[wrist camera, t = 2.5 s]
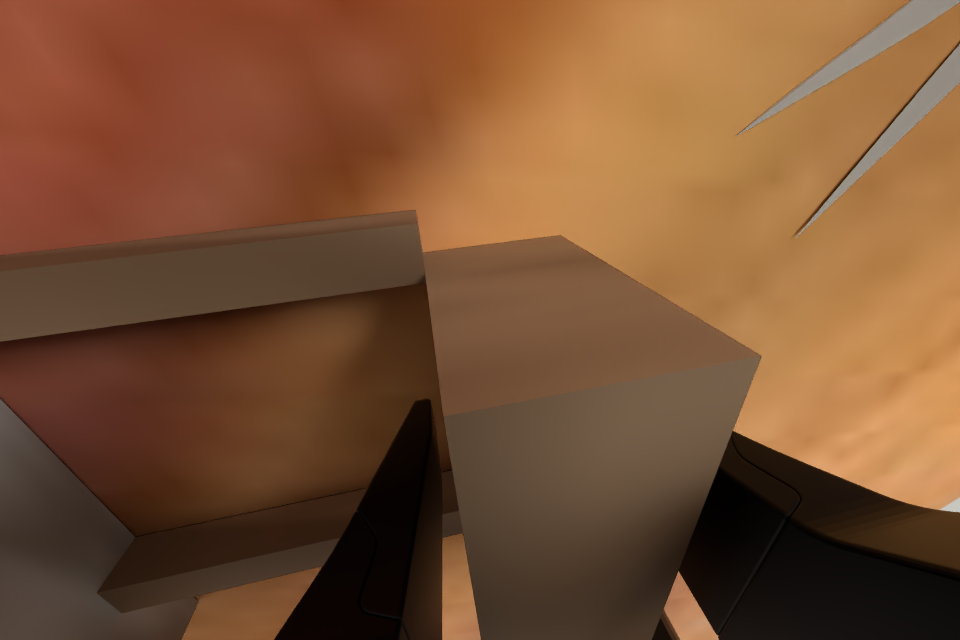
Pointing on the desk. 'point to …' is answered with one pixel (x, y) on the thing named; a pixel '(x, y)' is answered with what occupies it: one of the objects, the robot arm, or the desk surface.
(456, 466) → the wooden block frame
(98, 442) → the desk surface
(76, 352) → the desk surface
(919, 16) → the scissors
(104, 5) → the desk surface
